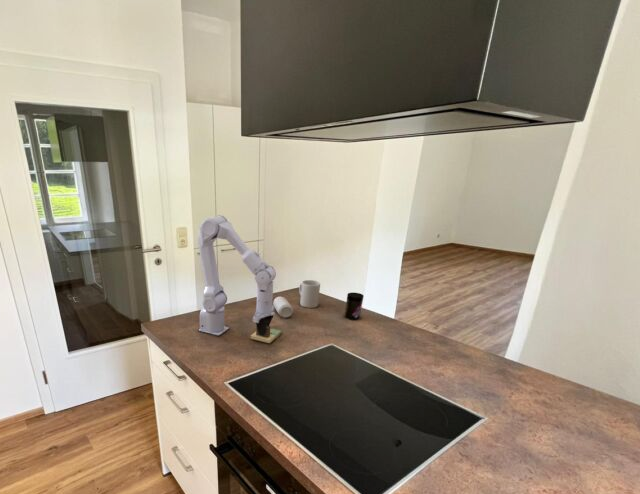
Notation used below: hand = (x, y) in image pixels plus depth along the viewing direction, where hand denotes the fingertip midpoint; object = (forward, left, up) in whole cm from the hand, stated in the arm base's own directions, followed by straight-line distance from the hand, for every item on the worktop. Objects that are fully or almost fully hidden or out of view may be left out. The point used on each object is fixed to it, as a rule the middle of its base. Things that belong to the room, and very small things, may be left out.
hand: (262, 333), depth 136 cm
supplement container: (+25, +40, -3) cm, 47 cm away
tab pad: (0, +1, -2) cm, 2 cm away
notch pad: (0, +6, -3) cm, 6 cm away
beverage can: (0, +24, +1) cm, 24 cm away
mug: (+2, +46, -3) cm, 46 cm away
